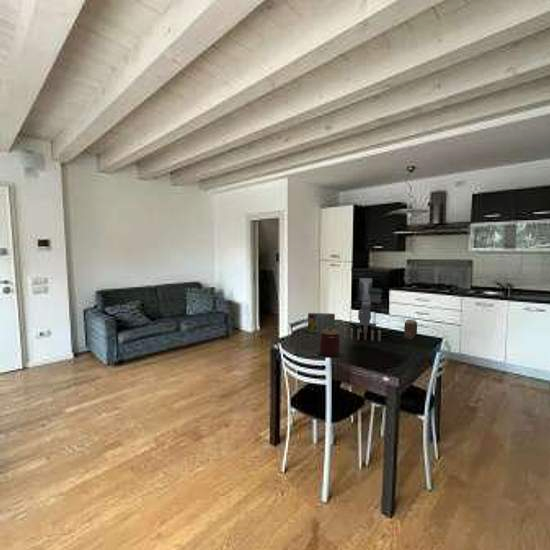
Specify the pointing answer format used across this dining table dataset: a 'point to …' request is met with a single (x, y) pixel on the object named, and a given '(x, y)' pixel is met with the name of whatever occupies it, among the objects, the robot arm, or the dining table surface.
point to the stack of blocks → (410, 329)
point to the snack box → (320, 321)
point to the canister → (330, 342)
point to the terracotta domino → (365, 334)
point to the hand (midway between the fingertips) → (365, 335)
